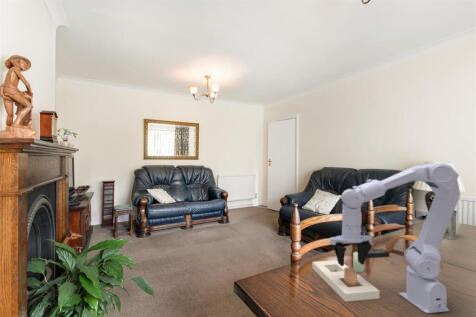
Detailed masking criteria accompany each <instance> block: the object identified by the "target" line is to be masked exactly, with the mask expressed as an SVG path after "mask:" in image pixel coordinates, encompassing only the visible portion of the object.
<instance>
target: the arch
mask: <svg viewBox="0 0 476 317" xmlns="http://www.w3.org/2000/svg"><path fill="white" fill-rule="evenodd" d="M418 237H419V236H416V235H412V234H405V235H399V236H396V237H393V238H391V239H389V240H388V242H387V243H386V244H385V247H384V250H386V251H388V252H389V253H390V252H393V251H394V249H395V245H396V243H397V242H398V241H400V240H406V241H407V240H408V241H409V242H411V243H412V242H414V241H416V240H417V239H418ZM440 268H442V260H441V261H440Z"/></svg>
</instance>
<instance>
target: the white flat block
mask: <svg viewBox="0 0 476 317" xmlns="http://www.w3.org/2000/svg"><path fill="white" fill-rule="evenodd" d="M311 265H312V266H311V268H312V269H313V270H314V271H315V272H316V273H317V274H318V276H319V277H321V278H322V279H323V281H325V282H326V284H327V285H328V286H329V287H330V288H331V289H332V290H333V291H334V292H335V293H336V294H337V295H338V296H339V297H340V298H341V299H342V300H343V301H344V302H346V303H347V302H357V301H367V300H377V299H378V300H379V299H380V290H379V289H378V288H377V287H375V286H374V285H373V284H371V283H370V282H369V281H367V280H366V279H365V278H364V277H362V276H361V275H359V274H358V273H357V287H348V286H346V285H345V284H344V269H345V268H350V267H349V266H348V265H346V264H345V263H344V266H341V265H340V264H338V260H337V259H336V260H335V259H334V260H324V261H322V260H321V261H319V260H318V261H312V264H311Z"/></svg>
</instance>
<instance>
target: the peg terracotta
mask: <svg viewBox="0 0 476 317" xmlns="http://www.w3.org/2000/svg"><path fill="white" fill-rule="evenodd" d="M357 274H358V272H357V270H355V269H353V267H349V268H345V269H344V284H345V285H346V286H348V287H357Z"/></svg>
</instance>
